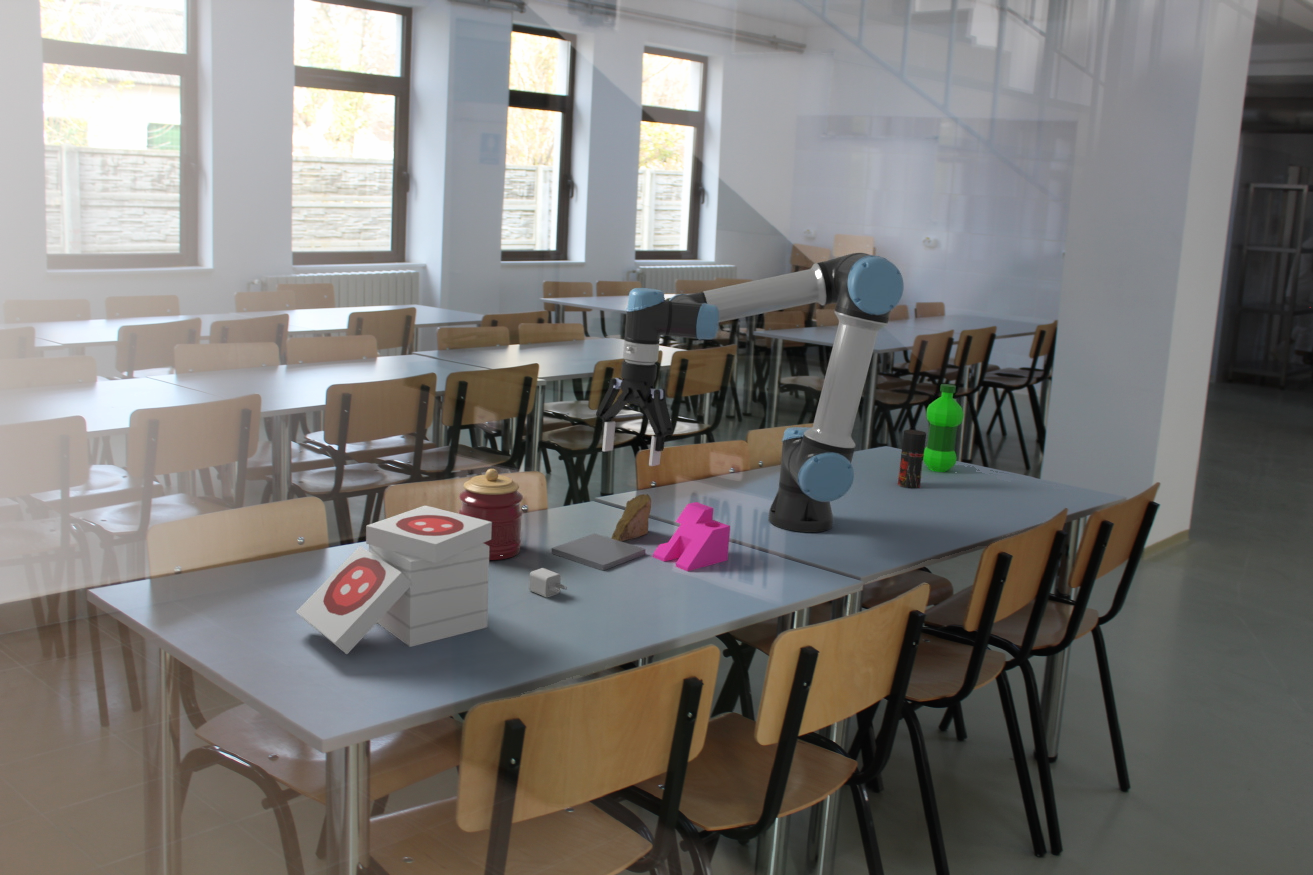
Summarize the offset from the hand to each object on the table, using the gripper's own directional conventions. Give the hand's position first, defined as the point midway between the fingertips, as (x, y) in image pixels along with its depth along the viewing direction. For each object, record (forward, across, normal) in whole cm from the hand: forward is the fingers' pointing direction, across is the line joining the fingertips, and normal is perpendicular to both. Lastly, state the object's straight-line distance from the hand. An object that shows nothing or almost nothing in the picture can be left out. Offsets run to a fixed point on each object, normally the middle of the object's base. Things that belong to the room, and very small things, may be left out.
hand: (630, 457), depth 236 cm
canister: (+19, -12, -28) cm, 36 cm away
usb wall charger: (+19, +14, -36) cm, 43 cm away
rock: (+18, +1, +1) cm, 18 cm away
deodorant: (+15, +21, +94) cm, 97 cm away
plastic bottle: (+14, +19, +117) cm, 119 cm away
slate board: (+18, +4, -12) cm, 23 cm away
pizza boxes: (+20, +8, -66) cm, 70 cm away
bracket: (+18, +19, 0) cm, 26 cm away
